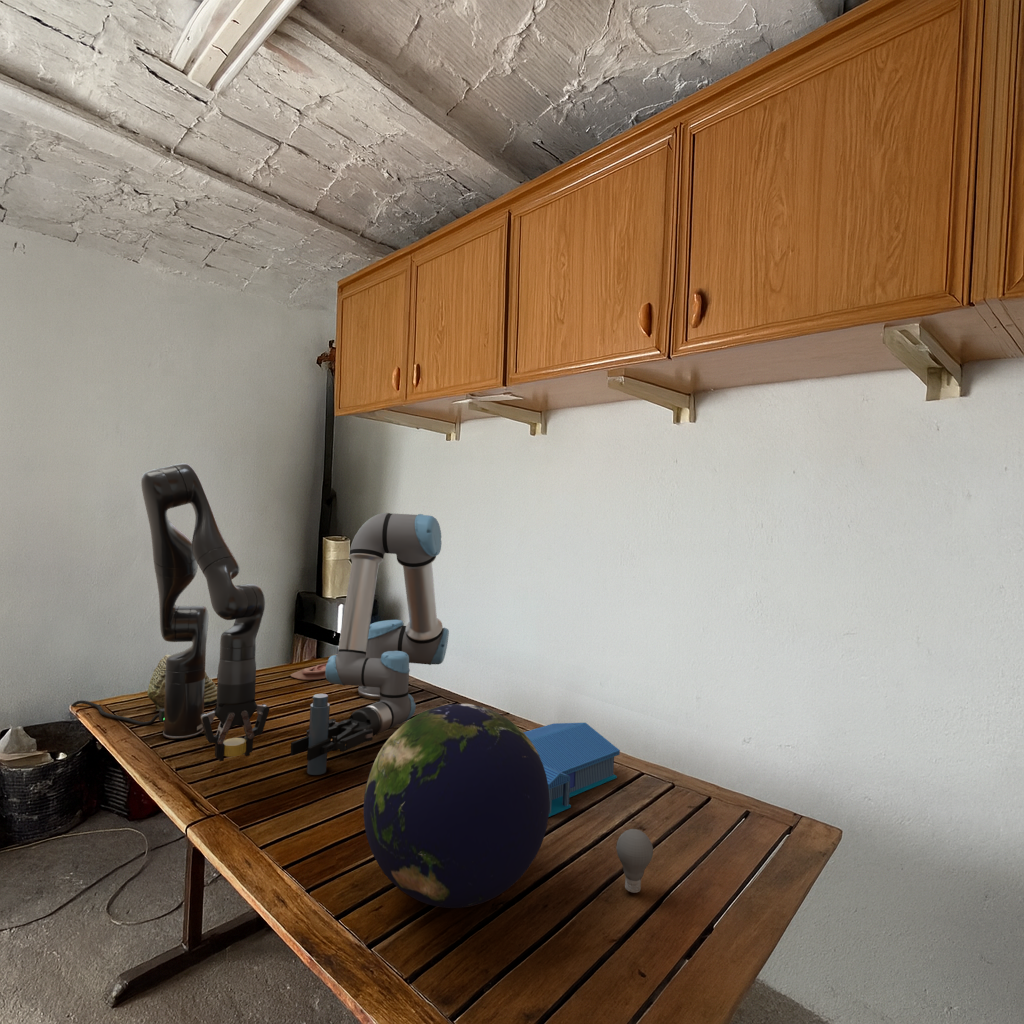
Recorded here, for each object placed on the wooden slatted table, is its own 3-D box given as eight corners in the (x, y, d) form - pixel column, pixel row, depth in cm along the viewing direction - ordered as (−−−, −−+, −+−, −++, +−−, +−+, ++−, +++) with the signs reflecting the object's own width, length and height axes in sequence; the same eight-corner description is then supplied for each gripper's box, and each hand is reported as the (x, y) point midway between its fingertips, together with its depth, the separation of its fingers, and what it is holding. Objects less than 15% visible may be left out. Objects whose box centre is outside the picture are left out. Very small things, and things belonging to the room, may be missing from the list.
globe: (319, 919, 95) (326, 721, 95) (420, 827, 123) (427, 673, 122) (502, 984, 84) (511, 760, 83) (568, 867, 112) (576, 698, 111)
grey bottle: (312, 766, 148) (316, 692, 148) (329, 768, 148) (333, 694, 148) (303, 774, 144) (307, 697, 144) (321, 776, 143) (325, 699, 143)
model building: (501, 837, 120) (504, 785, 120) (427, 790, 139) (429, 744, 138) (628, 782, 147) (630, 739, 147) (552, 748, 165) (553, 710, 165)
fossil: (144, 707, 182) (145, 655, 182) (212, 696, 194) (213, 647, 194) (151, 716, 175) (153, 662, 175) (221, 703, 188) (223, 653, 188)
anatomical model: (285, 666, 217) (303, 658, 228) (285, 677, 217) (303, 669, 228) (321, 670, 214) (337, 661, 225) (321, 681, 214) (337, 673, 225)
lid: (222, 758, 132) (222, 747, 132) (221, 749, 137) (221, 739, 137) (246, 755, 134) (247, 744, 134) (245, 746, 139) (245, 736, 139)
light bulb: (610, 879, 108) (613, 822, 108) (644, 879, 109) (647, 822, 109) (619, 902, 102) (622, 840, 102) (655, 901, 103) (658, 840, 103)
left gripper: (204, 687, 128) (201, 771, 128) (276, 678, 137) (273, 756, 137) (196, 678, 134) (193, 758, 134) (265, 669, 143) (263, 745, 143)
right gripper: (396, 743, 158) (328, 777, 137) (343, 728, 166) (271, 759, 145) (397, 713, 157) (330, 743, 137) (344, 700, 166) (273, 726, 145)
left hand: (233, 757), depth 136 cm, fingers closed on lid, 4 cm apart
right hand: (300, 751), depth 141 cm, fingers closed on grey bottle, 4 cm apart
